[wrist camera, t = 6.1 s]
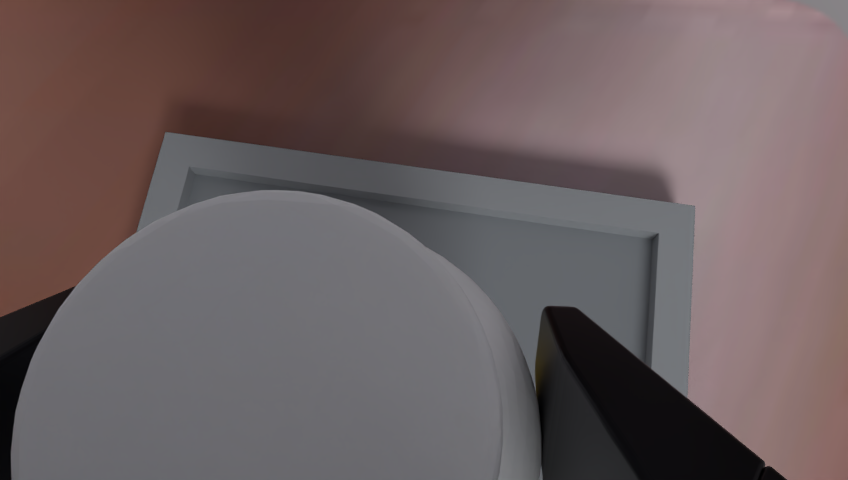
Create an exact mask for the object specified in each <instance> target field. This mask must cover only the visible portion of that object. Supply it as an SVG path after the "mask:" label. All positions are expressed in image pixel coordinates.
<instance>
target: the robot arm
mask: <svg viewBox="0 0 848 480" xmlns="http://www.w3.org/2000/svg"><path fill="white" fill-rule="evenodd" d="M75 287H76V286H75ZM75 287H72V288H70V289H68V290H65V291H63V292H60V293H58V294H56V295H53V296H51V297H48V298H46V299H43V300H41V301H39V302H36V303H34V304H31V305H29V306H27V307H24V308H22V309H19V310H17V311H14V312H12V313H10V314H7V315H5V316H2V317H0V480H11V446H12V436H13V426H14V419H15V412H16V407H17V404H18V400H19V396H20V392H21V388H22V385H23V382H24V380H25V377H26V374H27V371H28V368H29V365H30V362H31V359H32V357H33V355H34V353H35V350H36V348H37V346H38V344H39V342H40V341H41V339H42V337H43V335H44V333H45V332H46V330H47V328H48V326H49V325H50V323H51V321H52V319H53V318H54V316H55V314H56V313H57V311H58V309H59V308H60V306H61V305H62V304H63V303H64V301H65V300H66V299H67V297H68V296H69V295H70V293H71V292H72V291H73V289H74V288H75ZM535 384H536V396H537V400H538V405H539V413H540V421H541V434H542V462H541V467H542V477H543V480H787V479H785V478H784V477H783V476H782V475H781V474H779V473H778V472H777V471H776V470H774V469H773V468H772V467H770V466H767V467H765V462H764V461H763V460H762V459H761V458H760V457H758V456H757V455H756V454H755V453H753V452H752V451H751V450H750V449H749V448H747V447H746V446H745V445H744V444H742V443H741V442H740V441H739V440H738V439H736V438H735V437H734V436H733V435H732V434H730V433H729V432H728V431H727V430H725V429H724V428H723V427H722V426H721V425H719V424H718V423H717V422H716V421H714V420H713V419H712V418H711V417H710V416H708V415H707V414H706V413H705V412H704V411H702V410H701V409H700V408H699V407H697V406H696V405H695V404H694V403H693V402H691V401H690V400H689V399H688V398H687V397H685V396H684V395H683V394H682V393H680V392H679V391H678V390H677V389H676V388H674V387H673V386H672V385H671V384H669V383H668V382H667V381H666V380H665V379H663V378H662V377H661V376H660V375H659V374H657V373H656V372H655V371H654V370H652V369H651V368H650V367H649V366H648V365H646V364H645V363H644V362H643V361H641V360H640V359H639V358H638V357H637V356H635V355H634V354H633V353H632V352H631V351H629V350H628V349H627V348H626V347H624V346H623V345H622V344H621V343H620V342H618V341H617V340H616V339H615V338H613V337H612V336H611V335H610V334H609V333H607V332H606V331H605V330H604V329H603V328H601V327H600V326H599V325H598V324H596V323H595V322H594V321H593V320H592V319H590V318H589V317H588V316H587V315H586V314H584V313H583V312H582V311H581V310H579V309H578V308H576V307H571V306H546V307H544V309H543V311H542V314H541V320H540V328H539V336H538V344H537V352H536V360H535Z"/></svg>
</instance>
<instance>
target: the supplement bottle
mask: <svg viewBox="0 0 848 480" xmlns="http://www.w3.org/2000/svg"><path fill="white" fill-rule="evenodd" d="M541 462H542V434H541V421H540V413H539V405H538V400H537V396H536V391H535V387H534V383H533V379H532V376H531V373H530V370H529V368H528V365H527V362H526V359H525V356H524V354H523V352H522V350H521V347H520V345H519V343H518V341H517V339H516V337H515V335H514V334H513V332H512V330H511V328H510V327H509V325H508V323H507V322H506V320H505V319H504V317H503V316H502V314H501V313H500V311H499V310H498V308H497V307H496V306H495V305H494V303H493V302H492V301H491V300H490V298H489V297H488V296H487V295H486V294H485V293H484V292H483V291H482V289H481V288H480V287H479V286H478V285H477V284H476V283H475V282H474V281H473V280H472V279H471V278H470V277H468V276H467V275H466V274H465V273H463V272H462V271H461V270H460V269H458V268H457V267H456V266H454V265H453V264H452V263H450V262H449V261H448V260H447V259H445V258H444V257H442V256H441V255H439V254H437V253H435V252H434V251H432V250H430V249H429V248H427V247H425V246H424V245H423V244H422V243H421V242H419V241H418V240H417V239H415V238H414V237H413V236H412V235H410V234H409V233H408V232H406V231H405V230H403V229H401V228H400V227H398V226H397V225H395V224H393V223H392V222H390V221H388V220H387V219H385V218H383V217H382V216H380V215H378V214H377V213H374V212H372V211H370V210H367V209H365V208H363V207H360V206H358V205H355V204H353V203H349V202H346V201H342V200H339V199H335V198H332V197H328V196H325V195H321V194H314V193H308V192H302V191H286V190H259V191H251V192H242V193H235V194H229V195H222V196H218V197H215V198H212V199H209V200H205V201H202V202H198V203H195V204H192V205H190V206H188V207H185V208H183V209H181V210H178V211H176V212H173V213H171V214H169V215H167V216H165V217H162V218H160V219H158V220H156V221H154V222H152V223H151V224H149V225H148V226H146V227H144V228H143V229H141V230H140V231H138V232H137V233H135V234H134V235H132V236H130V237H129V238H127V239H126V240H125V241H124V242H122V243H121V244H120V245H119V246H117V247H116V248H115V249H114V250H112V251H111V252H110V253H109V254H108V255H107V256H106V257H104V258H103V259H102V260H101V261H100V262H99V263H98V264H97V265H96V266H95V267H94V268H93V269H92V270H91V271H90V272H89V273H88V274H87V275H86V276H85V277H84V278H83V279H82V280H81V281H80V282H79V283H78V285H77V286H76V287H75V288H74V289H73V291H72V292H71V293H70V295H69V296H68V297H67V299H66V300H65V301H64V303H63V304H62V305H61V306H60V308H59V309H58V311H57V313H56V314H55V316H54V318H53V319H52V321H51V323H50V325H49V326H48V328H47V330H46V332H45V333H44V335H43V337H42V339H41V341H40V342H39V344H38V346H37V348H36V350H35V353H34V355H33V357H32V359H31V362H30V365H29V368H28V371H27V374H26V377H25V380H24V382H23V385H22V388H21V392H20V396H19V400H18V404H17V407H16V412H15V419H14V426H13V436H12V446H11V480H539V477H540V470H541Z"/></svg>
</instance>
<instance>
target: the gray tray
mask: <svg viewBox="0 0 848 480" xmlns="http://www.w3.org/2000/svg"><path fill="white" fill-rule="evenodd" d="M259 190H286V191H302V192H308V193H314V194H321V195H325V196H328V197H332V198H335V199H339V200H342V201H346V202H349V203H353V204H355V205H358V206H360V207H363V208H365V209H367V210H370V211H372V212H374V213H377V214H378V215H380V216H382V217H383V218H385V219H387V220H388V221H390V222H392V223H393V224H395V225H397V226H398V227H400V228H401V229H403V230H405V231H406V232H408V233H409V234H410V235H412V236H413V237H414V238H415V239H417V240H418V241H419V242H421V243H422V244H423V245H424V246H425V247H427V248H429V249H430V250H432V251H434V252H435V253H437V254H439V255H441V256H442V257H444V258H445V259H447V260H448V261H449V262H450V263H452V264H453V265H454V266H456V267H457V268H458V269H460V270H461V271H462V272H463V273H465V274H466V275H467V276H468V277H470V278H471V279H472V280H473V281H474V282H475V283H476V284H477V285H478V286H479V287H480V288H481V289H482V291H483V292H484V293H485V294H486V295H487V296H488V297H489V298H490V300H491V301H492V302H493V303H494V305H495V306H496V307H497V308H498V310H499V311H500V313H501V314H502V316H503V317H504V319H505V320H506V322H507V323H508V325H509V327H510V328H511V330H512V332H513V334H514V335H515V337H516V339H517V341H518V343H519V345H520V347H521V350H522V352H523V354H524V356H525V359H526V362H527V365H528V368H529V370H530V373H531V376H532V379H533V383H534V387H535V391H536V384H535V360H536V352H537V344H538V336H539V328H540V320H541V314H542V311H543V309H544V307H546V306H571V307H576V308H578V309H579V310H581V311H582V312H583V313H584V314H586V315H587V316H588V317H589V318H590V319H592V320H593V321H594V322H595V323H596V324H598V325H599V326H600V327H601V328H603V329H604V330H605V331H606V332H607V333H609V334H610V335H611V336H612V337H613V338H615V339H616V340H617V341H618V342H620V343H621V344H622V345H623V346H624V347H626V348H627V349H628V350H629V351H631V352H632V353H633V354H634V355H635V356H637V357H638V358H639V359H640V360H641V361H643V362H644V363H645V364H646V365H648V366H649V367H650V368H651V369H652V370H654V371H655V372H656V373H657V374H659V375H660V376H661V377H662V378H663V379H665V380H666V381H667V382H668V383H669V384H671V385H672V386H673V387H674V388H676V389H677V390H678V391H679V392H680V393H682V394H683V395H684V396H685V397H687V395H688V370H689V346H690V321H691V297H692V272H693V248H694V224H695V206H692V205H685V204H678V203H671V202H664V201H657V200H649V199H642V198H635V197H628V196H621V195H614V194H606V193H599V192H592V191H585V190H578V189H571V188H563V187H556V186H549V185H542V184H535V183H528V182H520V181H513V180H506V179H499V178H492V177H485V176H477V175H470V174H463V173H456V172H449V171H442V170H434V169H427V168H420V167H413V166H406V165H399V164H391V163H384V162H377V161H370V160H363V159H356V158H349V157H341V156H334V155H327V154H320V153H313V152H306V151H298V150H291V149H284V148H277V147H270V146H263V145H255V144H248V143H241V142H234V141H227V140H220V139H212V138H205V137H198V136H191V135H184V134H177V133H169V132H165V136H164V139H163V143H162V146H161V149H160V153H159V156H158V160H157V163H156V167H155V170H154V174H153V177H152V180H151V184H150V187H149V191H148V194H147V198H146V201H145V205H144V208H143V211H142V215H141V218H140V222H139V225H138V229H137V232H138V231H140V230H141V229H143V228H144V227H146V226H148V225H149V224H151V223H152V222H154V221H156V220H158V219H160V218H162V217H165V216H167V215H169V214H171V213H173V212H176V211H178V210H181V209H183V208H185V207H188V206H190V205H192V204H195V203H198V202H202V201H205V200H209V199H212V198H215V197H218V196H222V195H229V194H235V193H242V192H251V191H259ZM137 232H136V233H137ZM539 480H543V477H542V467H541V470H540V477H539Z"/></svg>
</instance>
